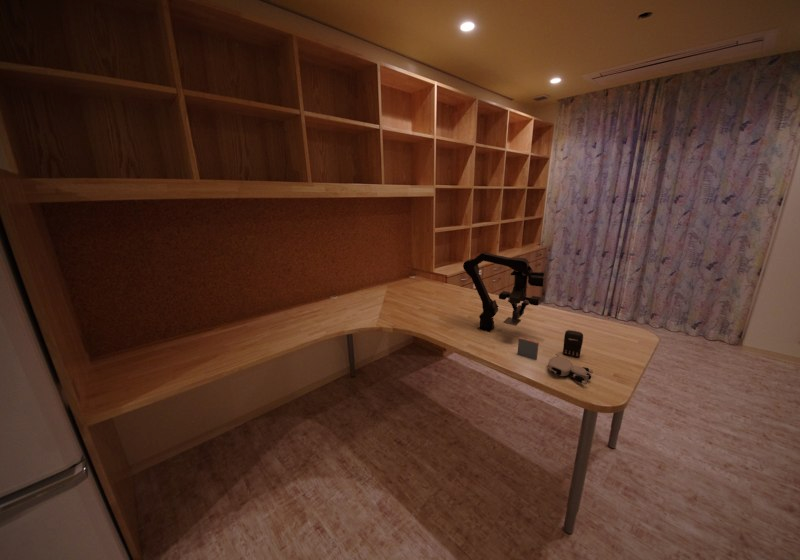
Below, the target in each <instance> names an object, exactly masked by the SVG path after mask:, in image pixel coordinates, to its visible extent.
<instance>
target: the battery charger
mask: <svg viewBox="0 0 800 560" xmlns="http://www.w3.org/2000/svg"><path fill="white" fill-rule="evenodd" d="M583 342H584V333H583V332H582V331H579V330H573V329H567V330H566V331H565V332H564V338H563V348H562V354H563V355H565V356H568V357H572V358H577V359H579V358H581V352H582V346H583Z"/></svg>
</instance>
